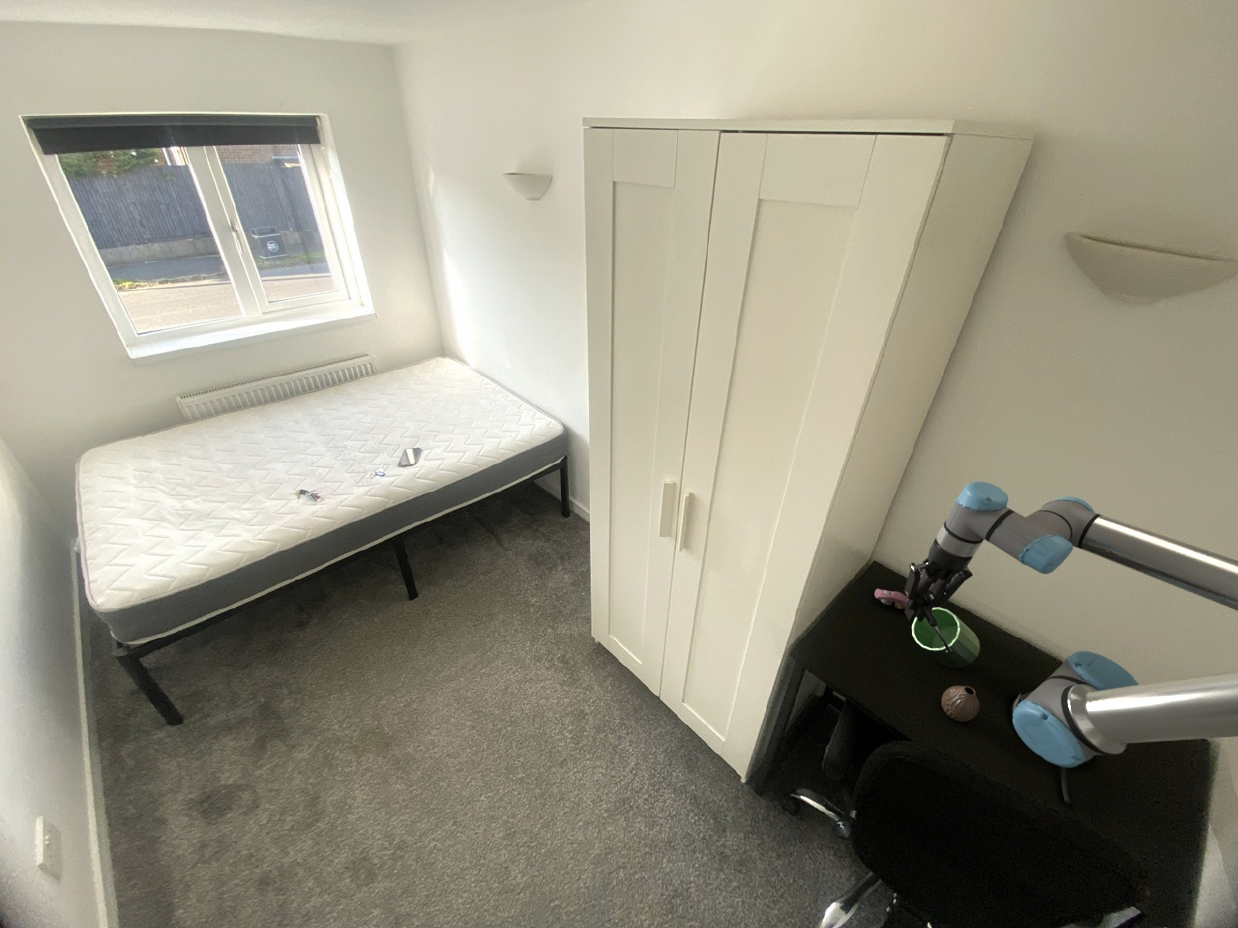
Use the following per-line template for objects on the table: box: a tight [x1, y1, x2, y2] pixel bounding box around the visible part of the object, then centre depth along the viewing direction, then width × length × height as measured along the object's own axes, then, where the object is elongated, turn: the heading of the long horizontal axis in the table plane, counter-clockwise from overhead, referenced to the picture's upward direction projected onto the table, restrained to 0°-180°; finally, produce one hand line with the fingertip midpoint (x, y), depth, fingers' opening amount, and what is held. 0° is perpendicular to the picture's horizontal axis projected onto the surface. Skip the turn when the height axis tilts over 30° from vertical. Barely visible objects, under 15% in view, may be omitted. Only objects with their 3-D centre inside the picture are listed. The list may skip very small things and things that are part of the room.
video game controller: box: [874, 588, 909, 610], centre depth 141 cm, size 10×5×7 cm, turn 67°
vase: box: [940, 685, 980, 723], centre depth 115 cm, size 7×7×9 cm
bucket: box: [911, 598, 981, 669], centre depth 123 cm, size 11×13×22 cm
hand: (913, 616), depth 121 cm, fingers closed on bucket, 2 cm apart
